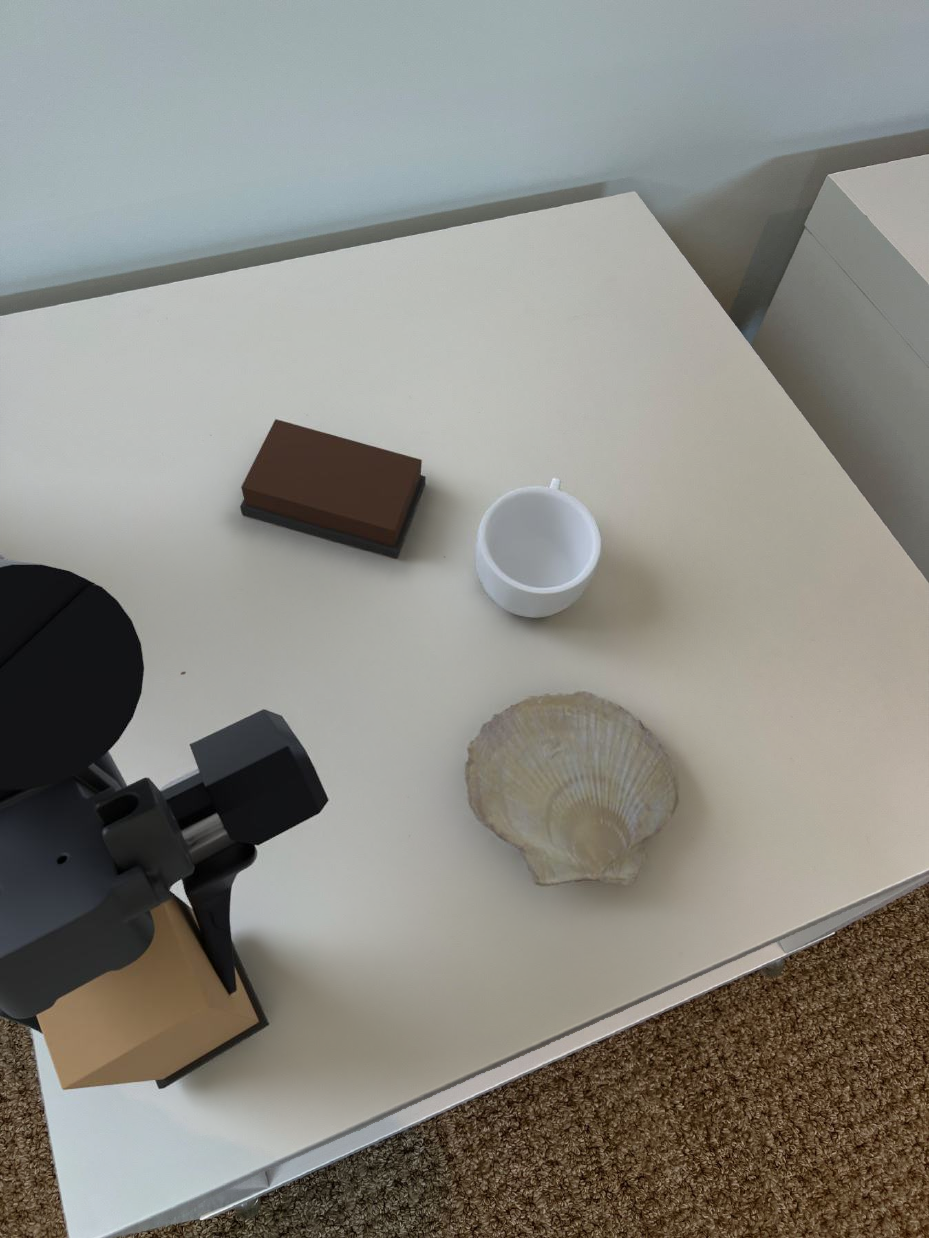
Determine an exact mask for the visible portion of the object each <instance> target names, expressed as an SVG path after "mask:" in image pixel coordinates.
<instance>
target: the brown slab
mask: <svg viewBox="0 0 929 1238" xmlns="http://www.w3.org/2000/svg"><path fill="white" fill-rule="evenodd" d="M422 461H423V460H422V459H420V458H417V457H413V456H410V455H406V454H402V453H399V452H395V451H392V450H389V449H384V448H381V447H378V446H373V445H370V444H367V443H363V442H359V441H355V440H352V439H349V438H346V437H342V436H337V435H334V434H331V433H328V432H325V431H324V432H323V431H320V430H317V429H313V428H309V427H305V426H303V425H298V424H295V423H292V422H287V421H284V420H280V419H277V418H275V419H274V421H273V423H272V425H271V426H270V429H269V431H268V433H267V434H266V437H265V439H264V440H263V443H262V445H261V447H260V448H259V450H258V453H257V455H256V456H255V459H254V460H253V462H252V465H251V466H250V468H249V470H248V472H247V475H246V477H245V478H244V481H243V483H242V485H241V487H240V488H241V493H242V496H243V499H242V502H241V504H240V507H239V508H240V512H241V515H242V516H245V517H248V518H252V519H256V520H258V521H262V522H265V523H269V524H273V525H276V526H279V527H284V528H287V529H290V530H293V531H297V532H301V533H304V534H309V535H311V536H315V537H318V538H322V539H325V540H329V541H332V542H336V543H338V544H342V545H347V546H350V547H353V548H357V549H360V550H364V551H368V552H371V553H374V554H377V555H378V554H379V555H381V556H385V557H388V558H392V559H396V560H397V559H398V558H399V556H400V553H401V551H402V547H403V545H404V541H405V540H406V537H407V534H408V532H409V530H410V526H411V523H412V522H413V521H412V520H413V519H414V515H415V513H416V511H417V507H418V505H419V502H420V501H421V500H420V499H421V497H422V494H423V492H424V489H425V487H426V480H427V479H426V477H427V476H425V475H422Z"/></svg>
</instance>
